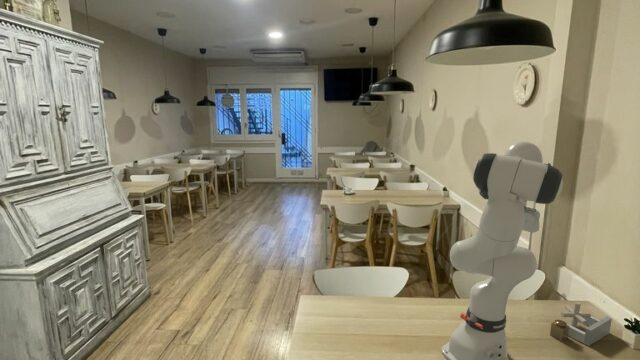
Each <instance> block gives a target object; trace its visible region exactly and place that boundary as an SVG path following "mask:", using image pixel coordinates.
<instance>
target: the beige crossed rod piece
mask: <svg viewBox="0 0 640 360" xmlns="http://www.w3.org/2000/svg"><path fill="white" fill-rule="evenodd" d="M564 309H565V310H566V311H565V312H564V311H561V312H560V317H562V318H571V322H570V323H571V324H570V325H571V326H573V327H575V328H577V329H578V323H579V322H581V324H583V325H585V326H587V325H586V324H588V321H587V320H585V319H584V318H583V317H585V318H590V317H591V316H592V315H591V312H584V311H581V302H579V301H574V305H573V308H572V306H570V305H569V304H566V305H565V306H564ZM579 311H581V312H579ZM578 320H579V321H578Z"/></svg>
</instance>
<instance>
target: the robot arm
mask: <svg viewBox="0 0 640 360" xmlns="http://www.w3.org/2000/svg"><path fill="white" fill-rule="evenodd" d="M472 176H473V177H472V178H473V179H472V180H473V183H474V185H475V187H476V188H477V191H478V193H479V195H480V196H481V198H482V199H483V200H487V202H486V204H485V206H484V208H483V211H482V213H481V216H480V221H479V225H478V229H477V231H476V233H475V234H473V235H472V236H470V237H469V238H465V239H463V240H462V239H461V240H458V241H456V242H454V243H453V245H452V246H451V248H450V251H449V259H450V263H451V264H452V266H453V267H454V268H455V269H456V270H459V271H461V272H465V273H467V274H472V275H479V276H488V278H486V279H485V280H482V281H478V282H476V283H475V284H474V285H473V286H472V287H471V289H470V294H469V306H468V308H467V310H466V313H464V312H461V313H460V314H459V317H460V319H462V320H463V321H462V322H461V323H460V324H459V325H458V327H456V329H455V330H453V332H452V334H450V338H449V341H448V342H446V343H445V344H444V345H443V346H441V348H440V351H441V353H442V355H443V356H444V358H445V359H447V360H510V359H509V357H508V338H507V335H506V330H505V328H506V324H507V315H506V308H507V303H508V299H509V297H510V294H511V292H512V291H513V290H514V288H515V287H517V286H518V285H519V284H521V283H522V282H524V281H525V280H528V279H530V278H532V277H533V276H534V274H535V273H536V271H537V267H538V266H537V265H538V264H537V263H538V262H537V259H536V257H535V254H534V253H533V252H532V250H530V249H529V248H527V247H523V246H520V245H518V243H519V241H520V237H521V235H522V231H524V232H528V233H532V234H534V233H537V232H539V230H540V217H541V213H540V212H539V211H538V210H537V209H536V208H531V207H528V206H527V203H528V201H529V202H535V204H540V205H549V204H551V203H553V202H554V201H555V200H556V199H557V198H558V197H559V196H560V195H561V193H562V191H563V188H564V179H563V173H562V172H561V171H560V169H558V168H557V167H555V166H552V164H551V163H550V162H548V163H544V162H543V154H542V151H541V150H540V148H539V147H538V146H537V145H535V144H534V143H532V142H528V141H519V142H515V143H513V144H512V145H510V147H508V148H507V150H506V151H505V153H504V154H497V153H491V152H490V153H488V152H487V153H483V154H482V155H479V158H478V159H477V160H476V162H475V164H474V166H473V169H472Z"/></svg>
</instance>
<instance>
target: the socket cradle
mask: <svg viewBox="0 0 640 360" xmlns="http://www.w3.org/2000/svg"><path fill="white" fill-rule="evenodd" d="M579 312H582V311H581V310H580V311H579ZM583 318H584V319H585V320H587V321H588V324H586V325H585V326H588V327H586V328H585V331H583V330H580V329H579V328H578V327H577V328H575V327H573V326H571V324H568V323H567V325H569V332H568V337H570V338H572V339H573V340H576V341H578V342H580V343H582V344H584V345H585V346H588V347H589V346H591V345H592V344H595V343H596V342H597V341H599V340H601V339H603V338H604V337H605V336H607V335H609V334H610V332H611V327H612V326H611V325H612V320H613V318H612V317H610V316H605V317H603V318H602V319H599V318H597V317H594V316H592V315H591V317H590V318H585V317H583ZM556 320H559V319H558V318H556ZM578 322H580V321H579V320H578Z"/></svg>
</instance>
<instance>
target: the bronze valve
mask: <svg viewBox="0 0 640 360" xmlns="http://www.w3.org/2000/svg"><path fill="white" fill-rule="evenodd" d="M550 324H551V326H550V332H549V335H550V337H552V338H555V339H556V340H558V341H560V342H563V341H565V340H567V339H568V337H569V336H568V332H569V325H570V324H569V325H567V324H568V323H567V322H566V321H564V320H561V319H558V320H557V319H555V320H554V321H553V322H551V323H550Z"/></svg>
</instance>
